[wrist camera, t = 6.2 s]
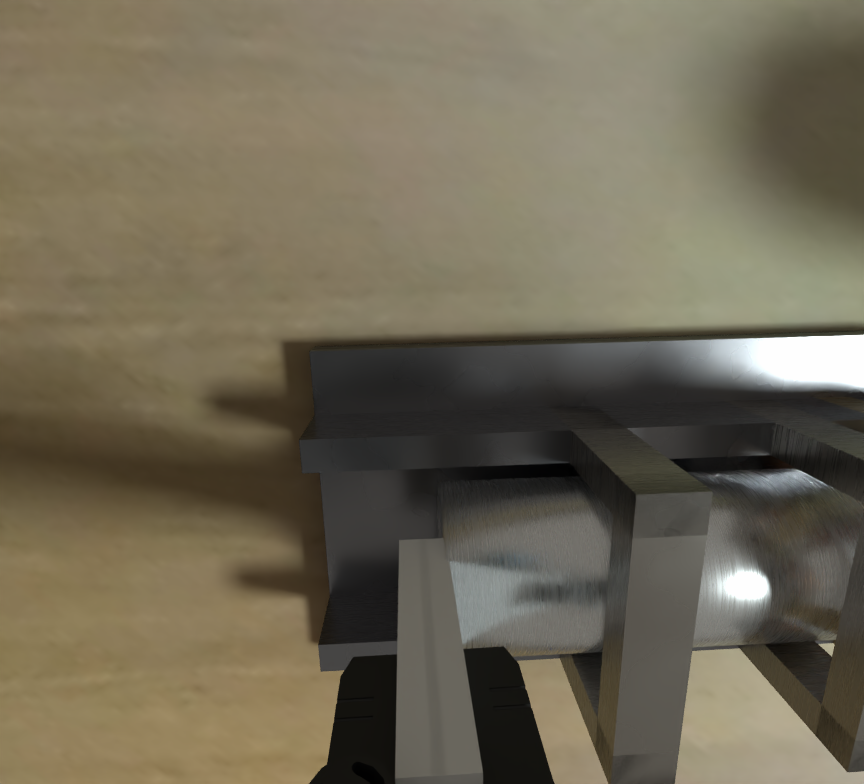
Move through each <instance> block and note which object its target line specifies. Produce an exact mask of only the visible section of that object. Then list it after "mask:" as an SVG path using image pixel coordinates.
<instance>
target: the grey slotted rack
mask: <svg viewBox="0 0 864 784" xmlns="http://www.w3.org/2000/svg"><path fill="white" fill-rule="evenodd" d="M309 352H310V364H311V376H312V387H313V399H314V411H315V415H314V417H313V419H312V420H311V422H310V423H309V425H308V427H307V428H306V430H305V431H304V433H303V435H302V436H301V438H300V439H299V445H300V456H301V467H302V473H320V482H321V494H322V506H323V518H324V530H325V541H326V553H327V565H328V577H329V589H330V598H329V602H328V606H327V610H326V615H325V619H324V623H323V627H322V632H321V636H320V640H319V644H318V647H319V658H320V668H321V671H339V670H345V669H346V667H347V666H348V664H349V663H350V661H351V660H352V658H353V657H358V656H375V655H392V654H397V637H398V579H399V540H411V539H435V538H438V521H437V496H438V482H439V481H461V480H488V479H515V478H542V477H568V476H581V477H582V478H583V479H584V481H585V482H586V483H587V484H588V485H589V487H590V488H591V489H592V490H593V491H594V493H595V494H596V495H597V496H598V497H599V499H600V500H601V501H602V502H603V503H604V505H605V506H606V507H607V508H608V510H609V511H610V512H611V513H612V514H613V524H612V537H611V550H610V563H609V576H608V589H607V602H606V615H605V628H604V641H603V652H593V653H573V654H554V655H535V656H516V657H513V658H514V659H515V660H516V661H518V660H536V659H554V658H560V660H561V663H562V665H563V668H564V670H565V673H566V675H567V678H568V681H569V683H570V686H571V688H572V691H573V693H574V696H575V699H576V701H577V704H578V706H579V709H580V711H581V714H582V717H583V719H584V722H585V724H586V727H587V729H588V732H589V735H590V737H591V740H592V742H593V745H594V747H595V750H596V753H597V755H598V758H599V760H600V763H601V765H602V768H603V771H604V773H605V776H606V778H607V781H608V783H609V784H675V776H676V769H677V761H678V754H679V746H680V738H681V731H682V723H683V715H684V708H685V700H686V693H687V685H688V677H689V670H690V662H691V654H692V651H697V650H715V649H733V648H740V649H741V650H742V652H743V653H744V654H745V655H746V656H747V657H748V658H749V660H750V661H751V662H752V663H753V664H754V665H755V667H756V668H757V669H758V670H759V671H760V672H761V673H762V675H763V676H764V677H765V678H766V679H767V680H768V681H769V683H770V684H771V685H772V686H773V687H774V688H775V689H776V691H777V692H778V693H779V694H780V695H781V696H782V698H783V699H784V700H785V701H786V702H787V703H788V704H789V706H790V707H791V708H792V709H793V710H794V711H795V712H796V714H797V715H798V716H799V717H800V718H801V719H802V720H803V722H804V723H805V724H806V725H807V726H808V727H809V729H810V730H811V731H812V732H813V733H814V734H815V735H816V737H817V738H818V739H819V740H820V741H821V742H822V743H823V745H824V746H825V747H826V748H827V749H828V750H829V751H830V753H831V754H832V755H833V756H834V757H835V758H836V760H837V761H838V762H839V763H840V764H841V765H842V766H843V768H844V769H845V770H846V771H847V772H858V771H864V512H863V517H862V521H861V526H860V531H859V535H858V540H857V544H856V549H855V554H854V558H853V563H852V567H851V572H850V577H849V581H848V586H847V591H846V595H845V600H844V604H843V609H842V614H841V618H840V623H839V627H838V632H837V637H836V640H824V641H805V642H786V643H766V644H747V645H728V646H708V647H693V639H694V632H695V624H696V616H697V609H698V601H699V593H700V586H701V578H702V571H703V563H704V555H705V548H706V540H707V533H708V525H709V517H710V510H711V502H712V494H713V491H711V490H710V489H709V488H707V487H706V486H705V485H703V484H702V483H701V482H699V481H698V480H696V479H695V478H694V477H692V476H691V475H690V474H688V473H687V472H703V471H730V470H757V469H783V468H796V469H798V470H800V471H802V472H804V473H806V474H808V475H810V476H812V477H814V478H816V479H818V480H820V481H822V482H823V483H825V484H827V485H829V486H831V487H833V488H835V489H837V490H839V491H841V492H843V493H845V494H847V495H849V496H850V497H852V498H854V499H856V500H858V501H860V502H862V503H864V331H834V332H799V333H764V334H729V335H694V336H659V337H624V338H590V339H555V340H520V341H485V342H450V343H415V344H380V345H345V346H315V347H314V348H313V349H312V350H310V351H309ZM823 643H834V644H835V646H834V651H833V655H832V657H831V656H830V655H829V654H828V653H827V652H826V651H825V650H824V649H823V648H822V647H820V646H819V645H818V644H823Z"/></svg>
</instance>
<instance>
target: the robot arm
mask: <svg viewBox="0 0 864 784" xmlns="http://www.w3.org/2000/svg"><path fill="white" fill-rule="evenodd" d="M309 784H554V781H553V779H552V775H551V772H550V768H549V765H548V762H547V758H546V755H545V751H544V748H543V745H542V741H541V738H540V735H539V731H538V728H537V724H536V721H535V718H534V714H533V711H532V708H531V705H530V701H529V697H528V694H527V690H526V689H525V684H524V680H523V677H522V673H521V670H520V667H519V664H518V663H517V661H516V660H515V659H514V658H513V656H512V655H511V654H510V653H509V652H508V650H507V649H506V648H505V647H504V646H502V647H485V648H469V649H463V644H462V638H461V632H460V625H459V619H458V613H457V607H456V600H455V594H454V588H453V582H452V575H451V569H450V563H449V561H447V559H446V552H445V544H444V538H435V539H411V540H399V579H398V637H397V654H392V655H375V656H358V657H353V658H352V660H351V661H350V663H349V664H348V666H347V667H346V669H345V671H344V672H343V674H342V675H341V678H340V685H339V691H338V697H337V704H336V710H335V717H334V723H333V730H332V736H331V743H330V749H329V756H328V762H327V765H326V766H324V767H323V768H321V770H320V771H319V772H318V773H317V774H316V776H315V777H314V778H313V779H312V781H311V782H310V783H309Z"/></svg>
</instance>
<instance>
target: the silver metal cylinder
mask: <svg viewBox="0 0 864 784" xmlns="http://www.w3.org/2000/svg"><path fill="white" fill-rule="evenodd" d="M687 473H688V474H690V475H691V476H692V477H694V478H695V479H696V480H698V481H699V482H701V483H702V484H703V485H705V486H706V487H707V488H709V489H710V490H711V491H713V494H712V502H711V510H710V517H709V525H708V533H707V540H706V548H705V555H704V563H703V571H702V578H701V586H700V593H699V601H698V609H697V616H696V624H695V632H694V639H693V647H708V646H728V645H747V644H766V643H786V642H805V641H824V640H836V637H837V632H838V627H839V623H840V618H841V614H842V609H843V604H844V600H845V595H846V591H847V586H848V581H849V577H850V572H851V567H852V563H853V558H854V554H855V549H856V544H857V540H858V535H859V531H860V526H861V521H862V517H863V512H864V503H862V502H860V501H858V500H856V499H854V498H852V497H850V496H849V495H847V494H845V493H843V492H841V491H839V490H837V489H835V488H833V487H831V486H829V485H827V484H825V483H823V482H822V481H820V480H818V479H816V478H814V477H812V476H810V475H808V474H806V473H804V472H802V471H800V470H798V469H796V468H783V469H757V470H730V471H703V472H687ZM437 521H438V538H444V544H445V552H446V559H447V561H449V563H450V569H451V575H452V582H453V588H454V594H455V600H456V607H457V613H458V619H459V625H460V632H461V638H462V644H463V649H469V648H485V647H502V646H504V647H505V648H506V649H507V650H508V652H509V653H510V654H511V655H512V656H513V657H516V656H535V655H554V654H573V653H593V652H603V641H604V628H605V615H606V602H607V589H608V576H609V563H610V550H611V537H612V524H613V514H612V513H611V512H610V511H609V510H608V508H607V507H606V506H605V505H604V503H603V502H602V501H601V500H600V499H599V497H598V496H597V495H596V494H595V493H594V491H593V490H592V489H591V488H590V487H589V485H588V484H587V483H586V482H585V481H584V479H583V478H582V477H581V476H568V477H542V478H515V479H488V480H461V481H439V482H438V496H437Z"/></svg>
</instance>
